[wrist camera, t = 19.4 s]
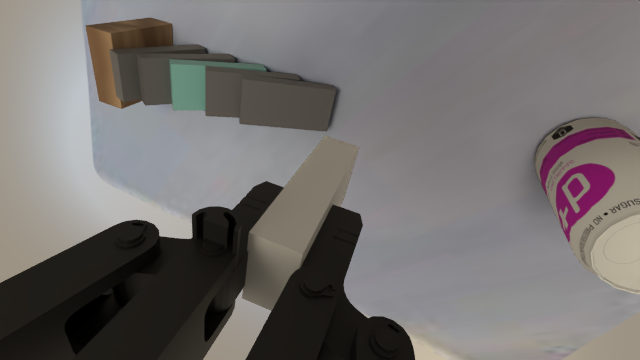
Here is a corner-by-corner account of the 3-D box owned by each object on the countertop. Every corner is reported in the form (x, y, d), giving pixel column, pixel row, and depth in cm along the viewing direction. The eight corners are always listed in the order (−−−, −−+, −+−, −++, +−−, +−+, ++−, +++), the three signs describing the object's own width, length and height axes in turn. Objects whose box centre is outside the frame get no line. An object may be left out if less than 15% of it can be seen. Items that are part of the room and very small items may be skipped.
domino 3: (266, 69, 38) (170, 64, 34) (262, 109, 41) (173, 110, 36) (262, 64, 39) (169, 59, 35) (258, 104, 42) (171, 104, 38)
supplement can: (516, 172, 36) (552, 269, 24) (568, 102, 32) (645, 179, 19) (592, 201, 35) (669, 319, 23) (656, 134, 31) (797, 236, 18)
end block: (171, 23, 40) (110, 33, 33) (175, 87, 45) (121, 108, 37) (150, 17, 41) (85, 25, 33) (155, 81, 45) (99, 101, 38)
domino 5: (336, 90, 37) (242, 79, 34) (326, 131, 39) (239, 123, 37) (332, 85, 38) (242, 73, 35) (324, 125, 41) (239, 117, 38)
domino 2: (234, 58, 39) (140, 58, 33) (232, 99, 42) (145, 105, 36) (229, 54, 40) (136, 53, 34) (227, 94, 43) (141, 99, 37)
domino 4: (300, 79, 37) (205, 70, 34) (293, 120, 40) (205, 115, 37) (297, 74, 39) (205, 65, 35) (290, 114, 41) (205, 109, 38)
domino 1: (205, 48, 40) (117, 54, 33) (205, 88, 43) (123, 102, 36) (197, 44, 41) (109, 49, 34) (197, 84, 43) (116, 96, 36)
